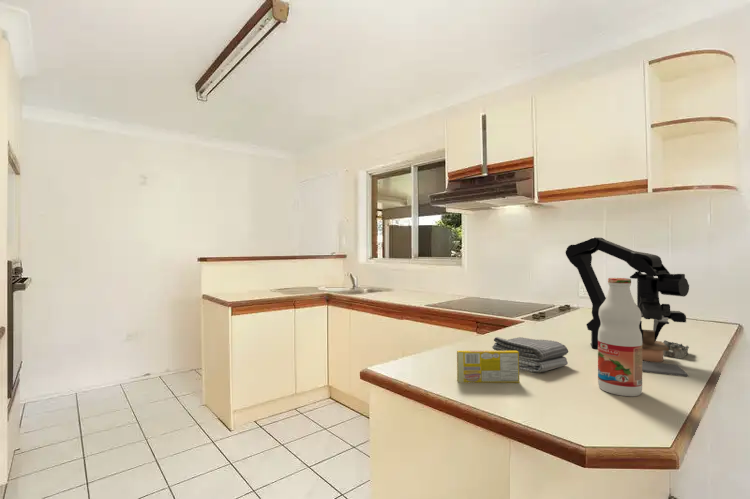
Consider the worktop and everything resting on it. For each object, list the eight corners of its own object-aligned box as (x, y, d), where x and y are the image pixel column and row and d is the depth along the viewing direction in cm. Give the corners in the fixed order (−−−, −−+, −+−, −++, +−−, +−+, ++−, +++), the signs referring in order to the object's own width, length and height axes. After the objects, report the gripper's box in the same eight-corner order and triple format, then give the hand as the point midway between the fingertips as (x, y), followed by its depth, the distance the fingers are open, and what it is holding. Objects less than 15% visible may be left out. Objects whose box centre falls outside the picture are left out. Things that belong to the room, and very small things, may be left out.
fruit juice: (652, 396, 92) (652, 279, 92) (615, 398, 91) (615, 279, 92) (623, 383, 102) (623, 277, 102) (589, 384, 101) (589, 277, 101)
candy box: (517, 380, 104) (517, 350, 104) (519, 383, 102) (519, 352, 102) (456, 380, 104) (456, 349, 104) (458, 382, 102) (458, 351, 102)
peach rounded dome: (635, 360, 123) (635, 347, 123) (630, 354, 130) (630, 342, 130) (666, 363, 120) (666, 350, 120) (659, 356, 127) (659, 344, 127)
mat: (640, 371, 111) (640, 369, 111) (633, 362, 121) (633, 360, 121) (688, 376, 107) (688, 374, 107) (677, 366, 116) (677, 364, 116)
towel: (542, 376, 108) (542, 348, 108) (488, 361, 123) (488, 336, 123) (569, 366, 117) (569, 341, 117) (516, 353, 132) (516, 330, 132)
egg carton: (682, 360, 124) (682, 347, 124) (654, 355, 130) (654, 343, 130) (691, 354, 131) (691, 342, 131) (664, 349, 137) (664, 338, 137)
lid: (634, 347, 123) (634, 332, 123) (628, 341, 131) (628, 327, 131) (668, 350, 119) (668, 334, 119) (661, 344, 127) (661, 329, 127)
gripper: (618, 294, 121) (618, 344, 121) (692, 297, 114) (692, 350, 114) (612, 291, 132) (612, 336, 132) (680, 293, 124) (680, 342, 124)
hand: (647, 341), depth 125 cm, fingers closed on lid, 3 cm apart
